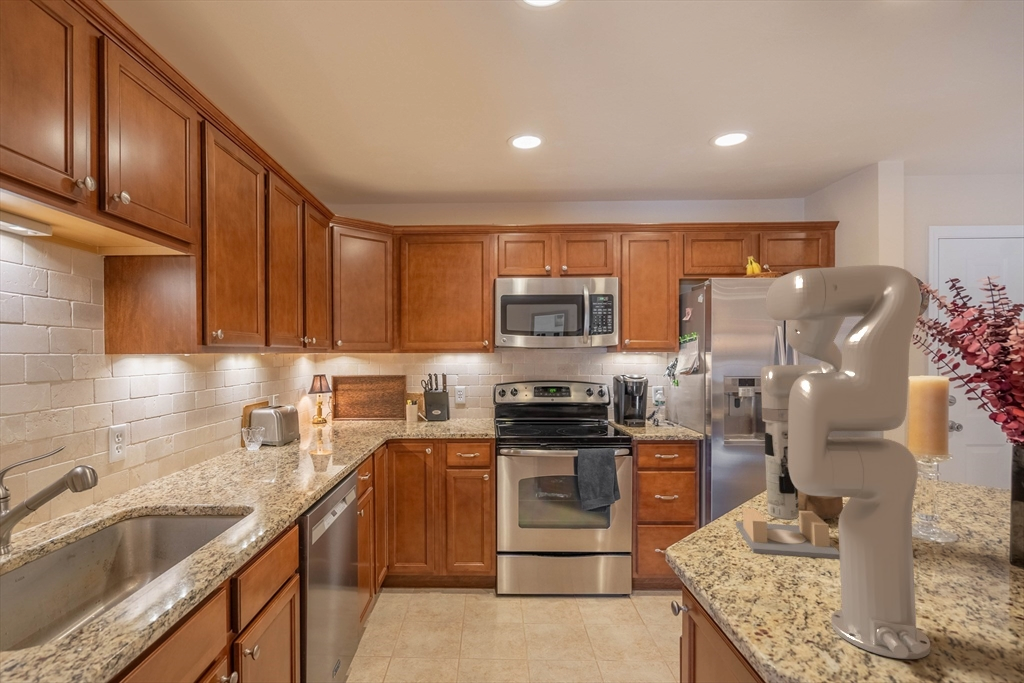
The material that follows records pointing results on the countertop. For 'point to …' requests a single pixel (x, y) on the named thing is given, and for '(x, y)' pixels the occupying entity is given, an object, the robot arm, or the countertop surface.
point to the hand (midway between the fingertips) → (782, 488)
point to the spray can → (776, 501)
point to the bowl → (820, 505)
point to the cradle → (787, 536)
